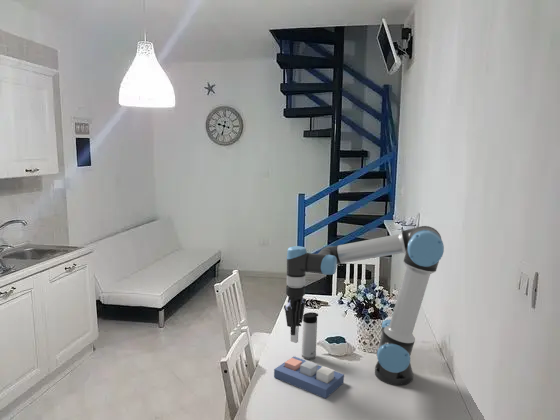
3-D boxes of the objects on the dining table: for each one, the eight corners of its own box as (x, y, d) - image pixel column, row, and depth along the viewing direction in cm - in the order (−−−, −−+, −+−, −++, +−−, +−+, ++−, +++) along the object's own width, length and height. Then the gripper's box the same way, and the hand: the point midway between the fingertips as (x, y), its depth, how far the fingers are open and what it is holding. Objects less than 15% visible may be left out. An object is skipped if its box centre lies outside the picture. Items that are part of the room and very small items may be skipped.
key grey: (317, 372, 171) (317, 364, 171) (310, 377, 167) (311, 369, 167) (306, 368, 174) (307, 360, 174) (300, 373, 170) (300, 365, 170)
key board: (343, 382, 170) (343, 374, 169) (325, 398, 159) (326, 389, 158) (293, 364, 184) (293, 356, 183) (274, 377, 173) (274, 369, 172)
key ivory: (333, 378, 167) (334, 370, 166) (327, 384, 163) (327, 375, 162) (322, 374, 170) (323, 366, 169) (316, 379, 166) (316, 371, 165)
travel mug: (315, 360, 187) (317, 316, 185) (300, 358, 188) (302, 315, 186) (317, 354, 193) (319, 311, 191) (302, 352, 195) (304, 310, 192)
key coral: (301, 369, 176) (301, 361, 175) (294, 374, 172) (295, 366, 171) (291, 365, 179) (291, 357, 178) (284, 370, 175) (284, 362, 174)
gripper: (297, 279, 178) (295, 333, 181) (278, 287, 167) (277, 344, 171) (312, 283, 173) (310, 338, 177) (294, 291, 163) (292, 349, 166)
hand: (294, 341), depth 174 cm, fingers closed
